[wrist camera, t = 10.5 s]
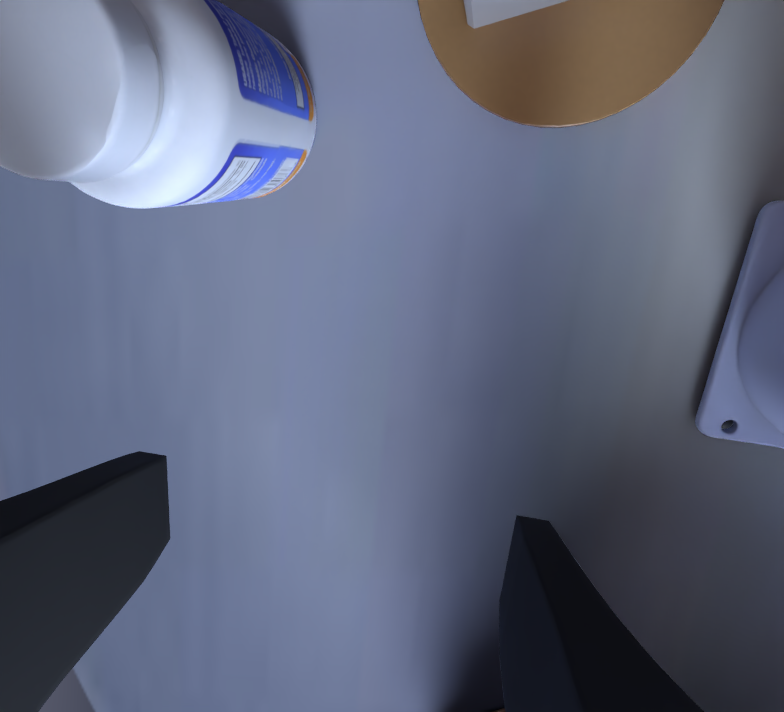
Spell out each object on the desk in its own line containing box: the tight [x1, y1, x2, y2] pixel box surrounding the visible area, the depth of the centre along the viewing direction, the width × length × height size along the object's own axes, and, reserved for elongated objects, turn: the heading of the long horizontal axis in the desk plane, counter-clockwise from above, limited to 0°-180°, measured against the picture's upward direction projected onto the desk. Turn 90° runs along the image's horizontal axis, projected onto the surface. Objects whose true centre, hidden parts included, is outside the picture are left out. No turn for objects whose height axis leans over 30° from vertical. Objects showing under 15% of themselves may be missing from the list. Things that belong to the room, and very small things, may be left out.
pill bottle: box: [0, 0, 317, 208], centre depth 14 cm, size 5×5×10 cm
